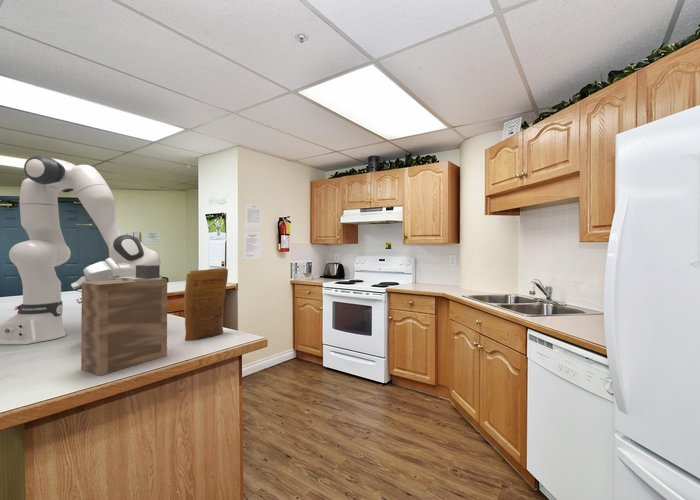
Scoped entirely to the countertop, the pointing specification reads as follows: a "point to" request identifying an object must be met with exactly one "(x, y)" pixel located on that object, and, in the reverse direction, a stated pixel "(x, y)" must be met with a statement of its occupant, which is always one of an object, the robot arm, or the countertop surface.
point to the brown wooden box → (123, 323)
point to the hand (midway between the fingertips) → (74, 294)
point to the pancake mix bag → (204, 303)
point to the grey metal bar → (139, 271)
